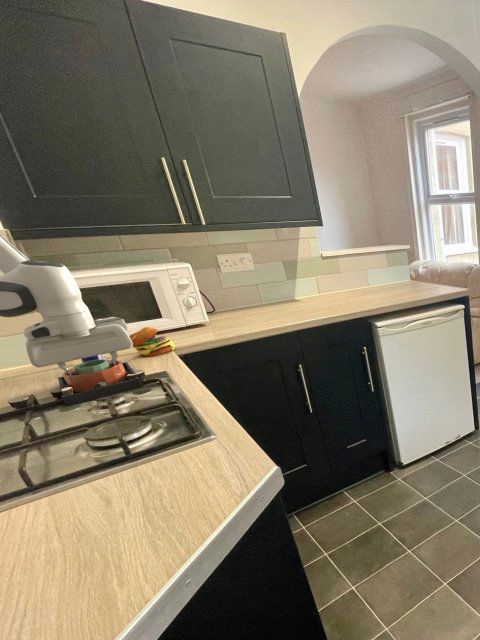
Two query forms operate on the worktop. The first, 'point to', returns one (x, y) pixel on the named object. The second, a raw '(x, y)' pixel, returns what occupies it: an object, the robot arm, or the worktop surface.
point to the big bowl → (96, 378)
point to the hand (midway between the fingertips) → (94, 372)
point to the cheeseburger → (150, 342)
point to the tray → (100, 389)
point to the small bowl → (91, 367)
